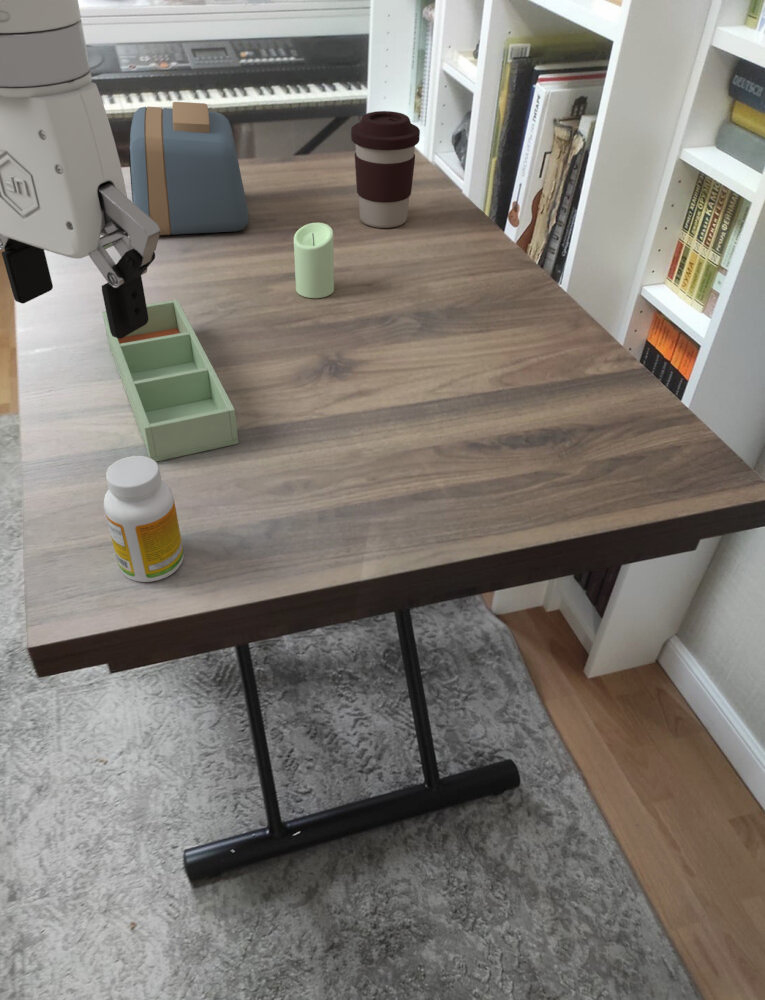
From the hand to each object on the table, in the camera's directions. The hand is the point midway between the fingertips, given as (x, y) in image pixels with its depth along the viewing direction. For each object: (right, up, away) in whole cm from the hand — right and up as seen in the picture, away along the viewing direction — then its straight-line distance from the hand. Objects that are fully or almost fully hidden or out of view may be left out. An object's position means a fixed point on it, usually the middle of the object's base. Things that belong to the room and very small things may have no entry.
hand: (81, 312), depth 62 cm
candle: (+13, +14, +48) cm, 52 cm away
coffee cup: (+22, +29, +67) cm, 77 cm away
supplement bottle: (+3, -19, +9) cm, 21 cm away
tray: (-1, -2, +29) cm, 29 cm away
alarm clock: (-7, +29, +66) cm, 73 cm away
